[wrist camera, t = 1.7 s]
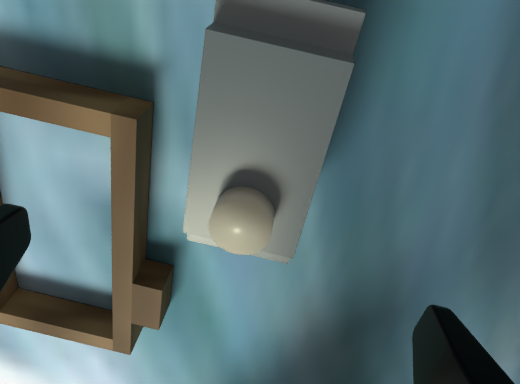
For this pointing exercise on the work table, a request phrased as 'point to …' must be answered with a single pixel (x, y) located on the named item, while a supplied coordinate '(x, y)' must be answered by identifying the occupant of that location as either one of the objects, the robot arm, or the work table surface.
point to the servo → (266, 120)
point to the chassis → (122, 207)
